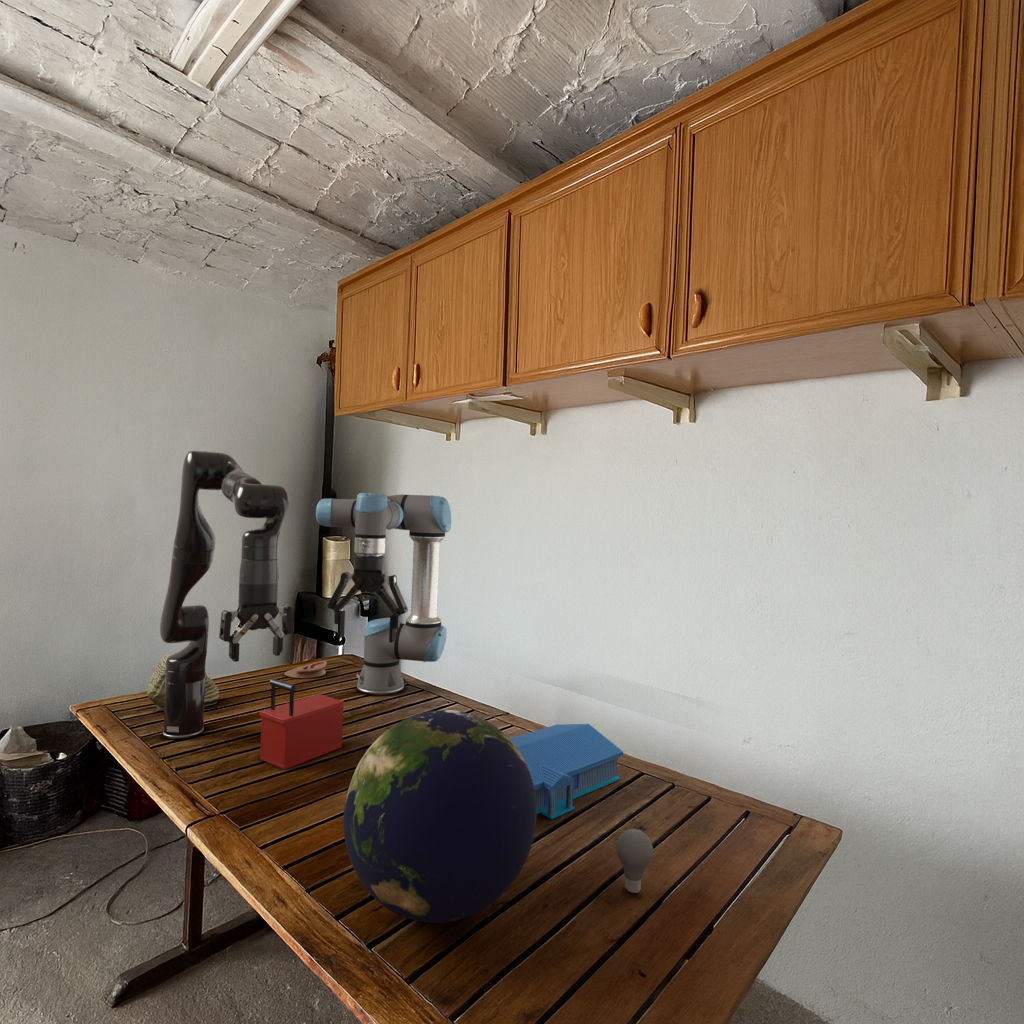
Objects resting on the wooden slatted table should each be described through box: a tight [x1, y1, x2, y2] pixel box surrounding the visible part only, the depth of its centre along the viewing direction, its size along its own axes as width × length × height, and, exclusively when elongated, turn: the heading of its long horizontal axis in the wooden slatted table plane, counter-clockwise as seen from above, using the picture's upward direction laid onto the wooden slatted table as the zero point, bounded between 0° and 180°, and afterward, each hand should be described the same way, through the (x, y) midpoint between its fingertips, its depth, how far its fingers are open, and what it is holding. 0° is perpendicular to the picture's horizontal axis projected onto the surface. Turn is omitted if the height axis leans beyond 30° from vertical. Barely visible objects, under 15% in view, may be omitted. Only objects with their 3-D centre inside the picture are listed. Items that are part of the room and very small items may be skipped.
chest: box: [259, 705, 344, 770], centre depth 156 cm, size 17×9×11 cm, turn 146°
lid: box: [259, 678, 344, 724], centre depth 155 cm, size 18×9×8 cm, turn 146°
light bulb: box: [615, 828, 654, 894], centre depth 106 cm, size 6×6×10 cm
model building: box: [509, 723, 624, 820], centre depth 142 cm, size 39×24×10 cm, turn 132°
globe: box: [343, 709, 538, 924], centre depth 100 cm, size 30×30×30 cm
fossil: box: [147, 654, 221, 712], centre depth 185 cm, size 9×18×15 cm, turn 132°
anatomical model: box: [283, 660, 327, 679], centre depth 222 cm, size 13×4×12 cm
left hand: (256, 657), depth 132 cm, fingers open, 8 cm apart
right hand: (366, 639), depth 159 cm, fingers open, 13 cm apart
